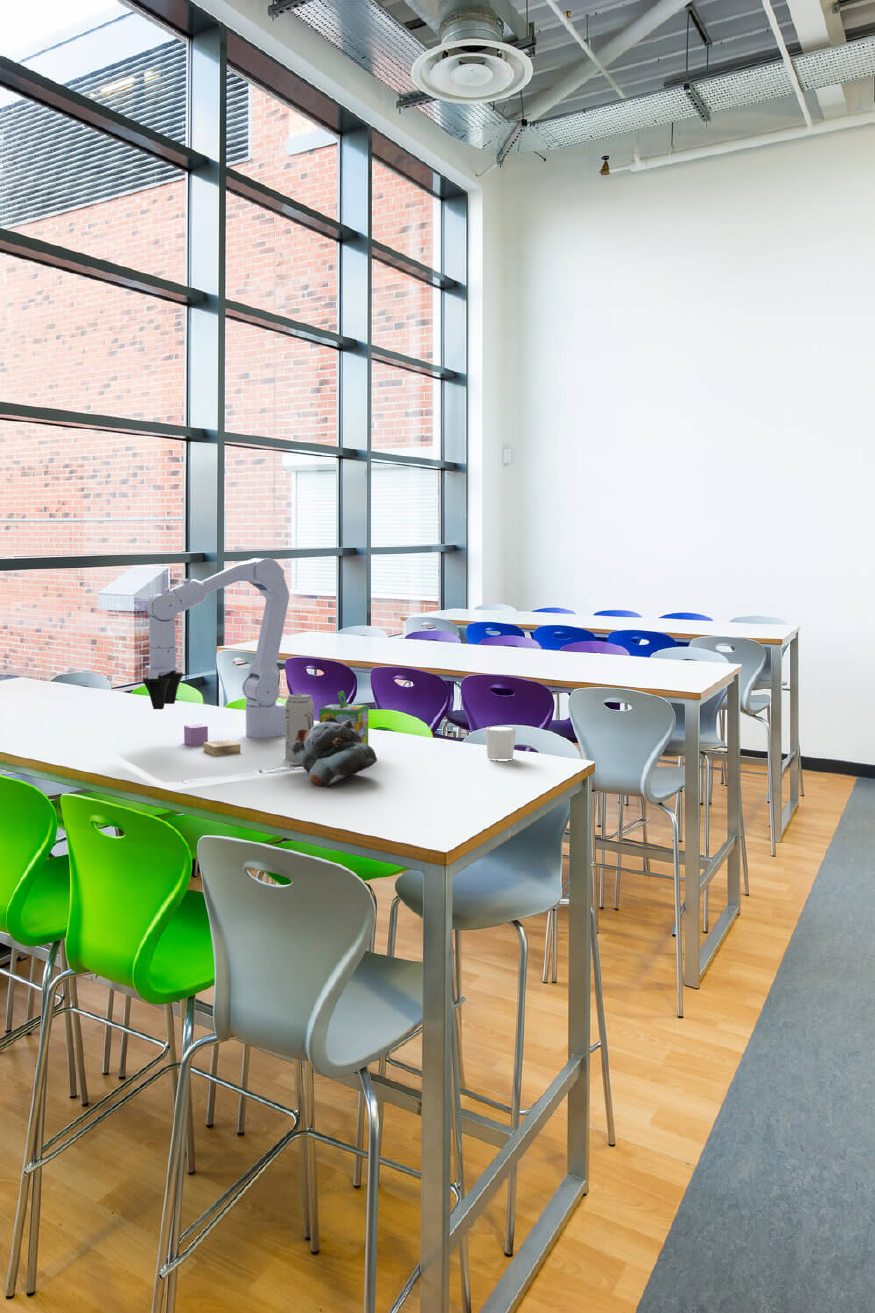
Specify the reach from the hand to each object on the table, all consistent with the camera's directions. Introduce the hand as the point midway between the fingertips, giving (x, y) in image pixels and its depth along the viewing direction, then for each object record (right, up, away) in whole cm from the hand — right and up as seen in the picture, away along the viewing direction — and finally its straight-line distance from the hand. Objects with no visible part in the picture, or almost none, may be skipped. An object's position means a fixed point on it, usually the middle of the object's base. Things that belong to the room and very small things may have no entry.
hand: (164, 706), depth 205 cm
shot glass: (+77, -12, -3) cm, 78 cm away
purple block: (+7, -10, +2) cm, 12 cm away
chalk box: (+42, -11, -4) cm, 43 cm away
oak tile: (+15, -10, -7) cm, 19 cm away
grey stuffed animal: (+42, -14, -25) cm, 51 cm away
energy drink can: (+33, -12, -12) cm, 37 cm away
